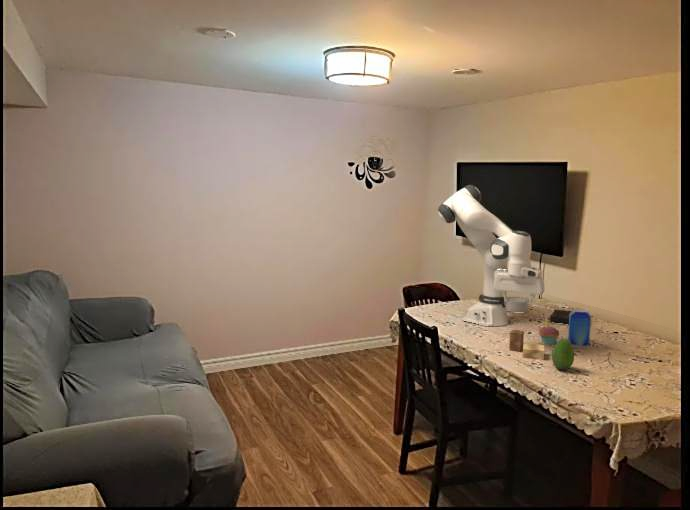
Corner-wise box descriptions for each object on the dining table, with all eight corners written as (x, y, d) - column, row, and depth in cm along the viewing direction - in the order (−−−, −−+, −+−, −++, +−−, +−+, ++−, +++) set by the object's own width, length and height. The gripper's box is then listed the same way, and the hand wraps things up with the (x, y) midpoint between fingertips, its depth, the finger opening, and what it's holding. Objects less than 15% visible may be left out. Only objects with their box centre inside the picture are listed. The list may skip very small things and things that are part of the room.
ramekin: (532, 314, 283) (533, 301, 282) (507, 314, 283) (508, 301, 283) (524, 308, 296) (525, 296, 295) (501, 308, 297) (501, 296, 296)
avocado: (577, 371, 197) (579, 340, 195) (560, 373, 195) (562, 342, 193) (563, 364, 204) (565, 334, 203) (546, 366, 202) (547, 336, 200)
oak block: (522, 358, 213) (522, 348, 212) (523, 352, 220) (523, 343, 219) (543, 360, 210) (544, 351, 209) (543, 354, 217) (544, 345, 217)
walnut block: (509, 350, 222) (510, 332, 221) (512, 347, 226) (513, 329, 224) (520, 352, 219) (520, 333, 218) (523, 349, 223) (523, 331, 222)
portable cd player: (586, 328, 257) (587, 320, 257) (549, 323, 266) (550, 315, 265) (590, 320, 271) (590, 313, 271) (554, 316, 280) (555, 309, 279)
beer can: (587, 344, 230) (590, 308, 228) (590, 349, 222) (592, 312, 220) (567, 342, 233) (569, 307, 231) (568, 347, 225) (570, 311, 223)
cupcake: (549, 346, 227) (550, 319, 225) (533, 341, 234) (535, 315, 233) (562, 343, 231) (564, 317, 229) (547, 338, 238) (548, 312, 237)
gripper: (491, 269, 221) (490, 301, 223) (542, 273, 210) (541, 307, 212) (496, 267, 226) (495, 298, 228) (546, 271, 215) (544, 304, 217)
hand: (517, 303), depth 220 cm, fingers open, 8 cm apart
